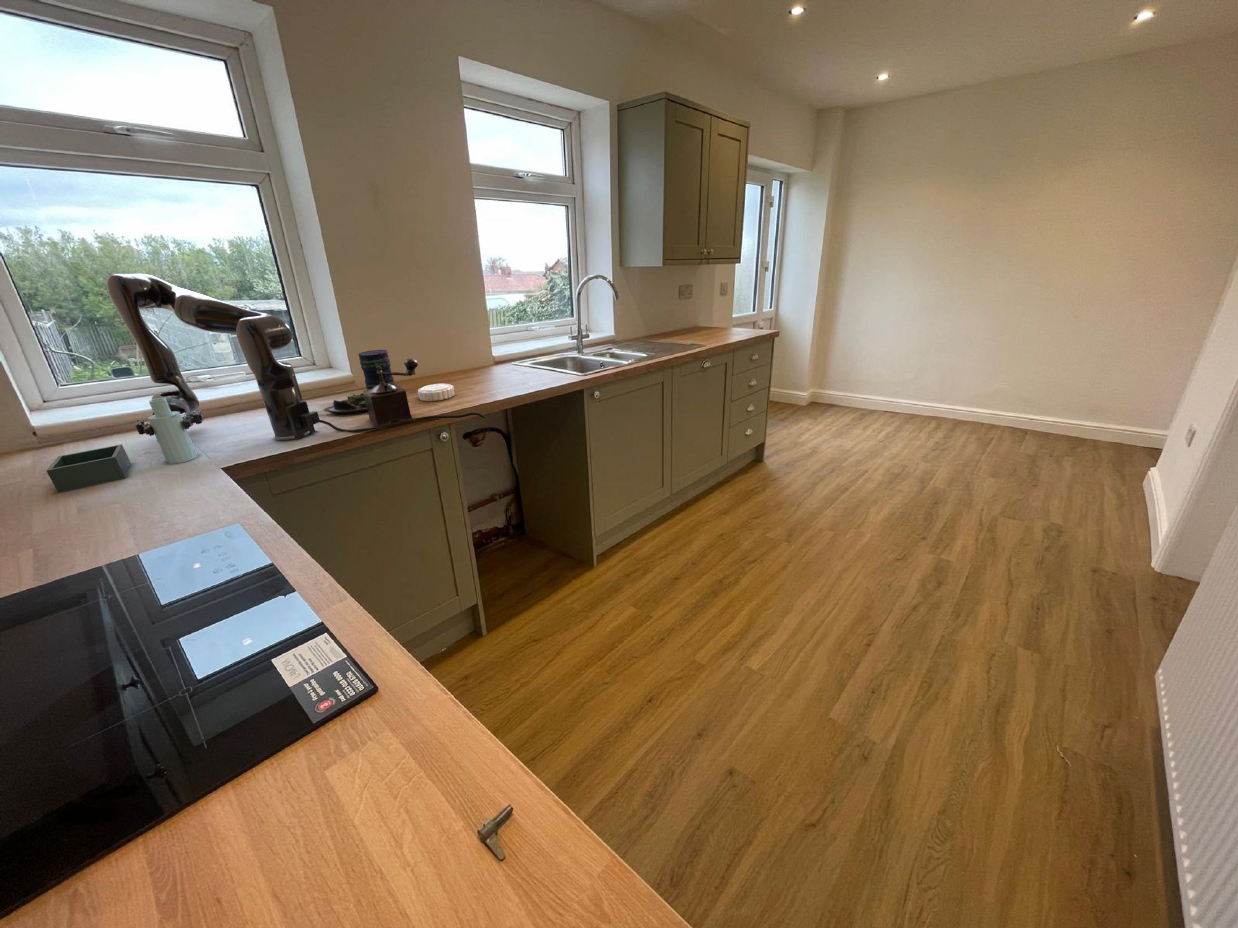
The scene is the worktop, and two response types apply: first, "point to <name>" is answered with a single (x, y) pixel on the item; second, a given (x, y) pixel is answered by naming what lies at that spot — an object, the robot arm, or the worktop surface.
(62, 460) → the dark green open box
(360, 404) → the salad plate
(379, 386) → the manual coffee grinder
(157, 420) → the bottle
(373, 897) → the worktop surface
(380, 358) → the storage jar
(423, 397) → the mooncake
